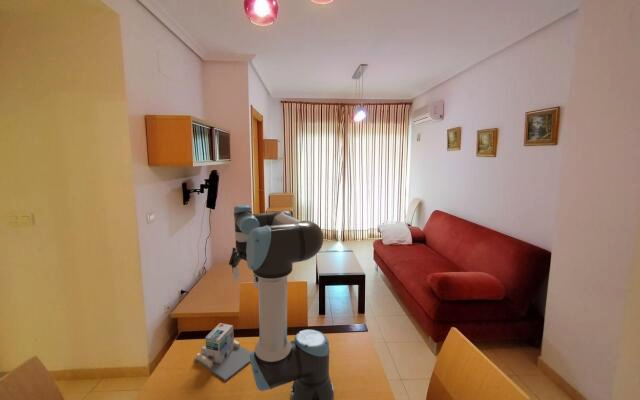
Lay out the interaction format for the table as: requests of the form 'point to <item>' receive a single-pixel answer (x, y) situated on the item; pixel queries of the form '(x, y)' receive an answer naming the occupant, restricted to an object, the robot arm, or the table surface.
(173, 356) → the table surface
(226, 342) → the light bulb box
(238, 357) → the grey base plate
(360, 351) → the table surface
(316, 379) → the robot arm
